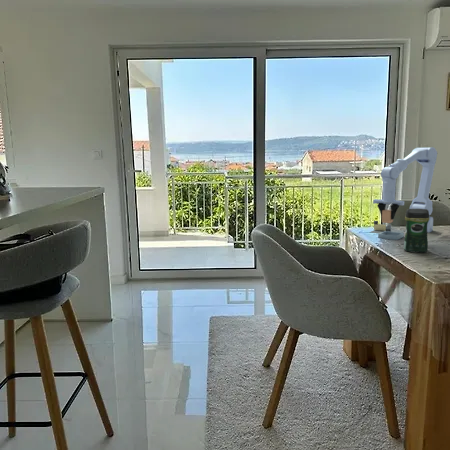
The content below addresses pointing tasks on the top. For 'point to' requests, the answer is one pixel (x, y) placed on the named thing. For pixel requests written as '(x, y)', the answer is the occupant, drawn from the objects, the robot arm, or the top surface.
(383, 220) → the block
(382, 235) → the tray
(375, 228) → the crank
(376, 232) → the plate
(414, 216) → the coffee jar
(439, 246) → the top surface
